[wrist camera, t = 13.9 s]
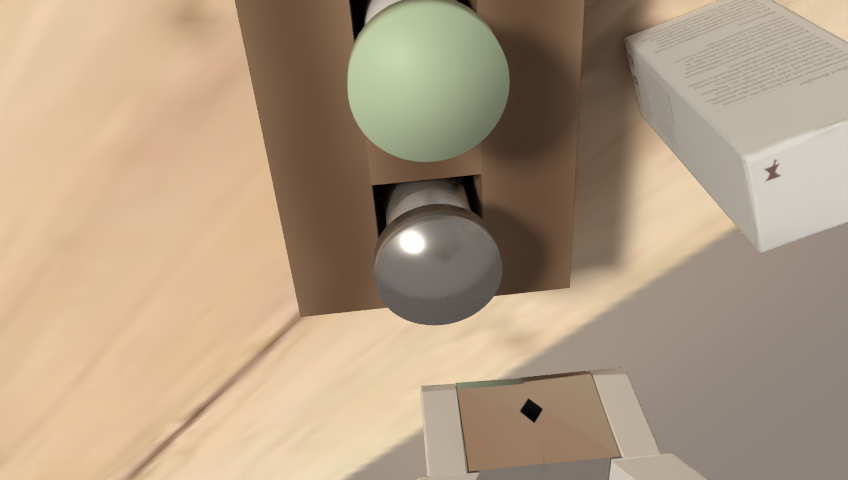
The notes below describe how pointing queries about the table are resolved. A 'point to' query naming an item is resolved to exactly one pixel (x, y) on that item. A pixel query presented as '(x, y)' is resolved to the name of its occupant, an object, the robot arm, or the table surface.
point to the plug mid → (426, 78)
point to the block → (370, 165)
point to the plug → (434, 253)
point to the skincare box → (752, 113)
